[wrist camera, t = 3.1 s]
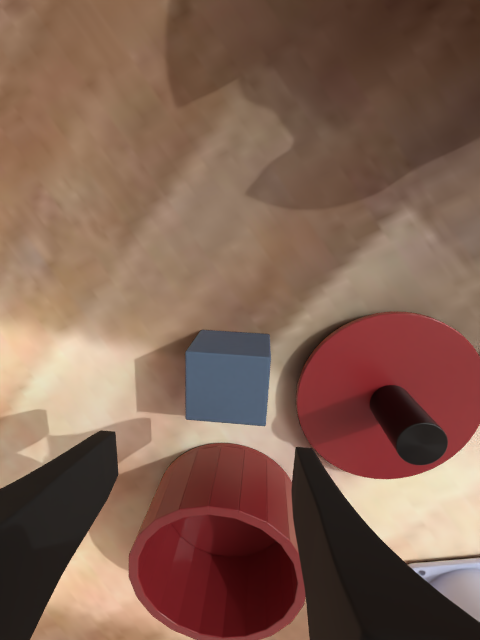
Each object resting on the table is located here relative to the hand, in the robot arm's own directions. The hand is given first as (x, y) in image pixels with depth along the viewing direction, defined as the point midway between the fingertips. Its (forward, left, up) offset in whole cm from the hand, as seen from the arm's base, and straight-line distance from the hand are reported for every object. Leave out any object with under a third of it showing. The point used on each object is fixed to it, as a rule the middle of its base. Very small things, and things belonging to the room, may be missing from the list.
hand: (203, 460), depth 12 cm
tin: (+2, +10, -8) cm, 14 cm away
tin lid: (-10, +3, -8) cm, 13 cm away
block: (-1, -1, -8) cm, 9 cm away
